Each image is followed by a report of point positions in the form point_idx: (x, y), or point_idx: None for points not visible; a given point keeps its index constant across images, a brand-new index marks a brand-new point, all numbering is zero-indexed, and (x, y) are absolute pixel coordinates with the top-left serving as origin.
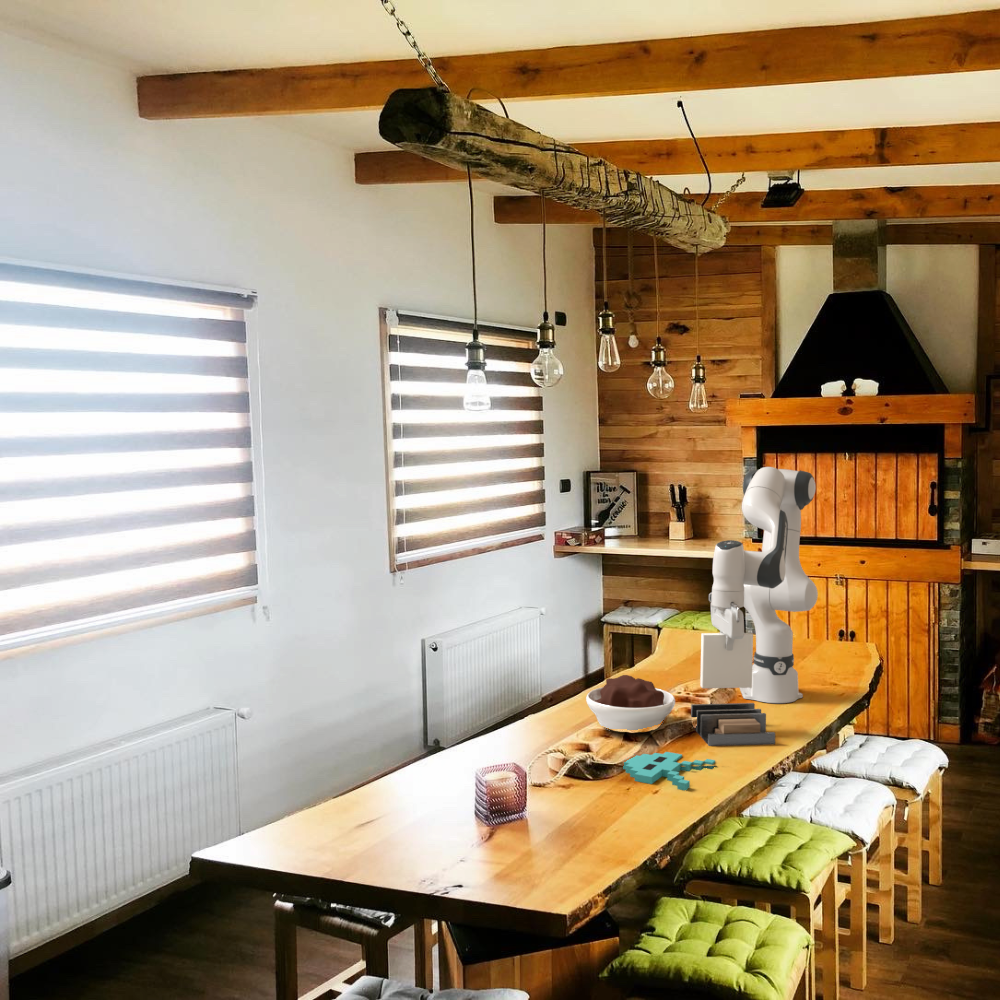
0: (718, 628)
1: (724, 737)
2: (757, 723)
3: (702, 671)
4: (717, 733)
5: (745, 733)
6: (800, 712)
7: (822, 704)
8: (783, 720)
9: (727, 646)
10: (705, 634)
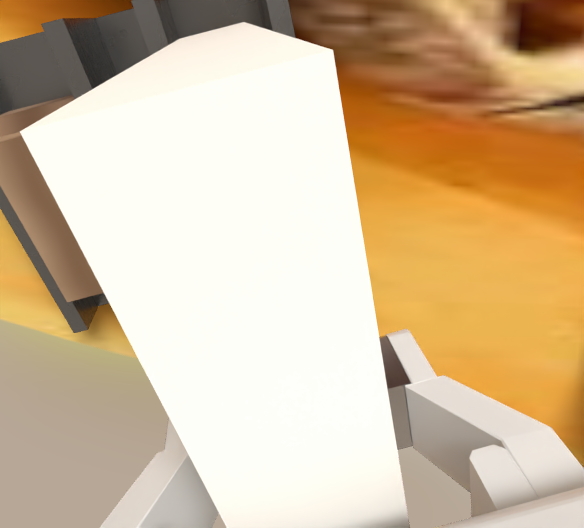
0: (557, 525)
1: None
2: (74, 291)
3: (181, 42)
4: (37, 106)
5: (23, 232)
6: (496, 369)
7: (566, 415)
8: (414, 327)
9: (173, 430)
10: (161, 195)
